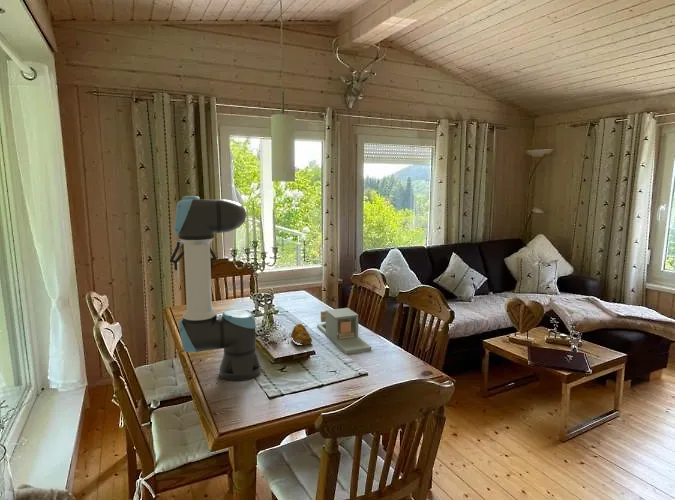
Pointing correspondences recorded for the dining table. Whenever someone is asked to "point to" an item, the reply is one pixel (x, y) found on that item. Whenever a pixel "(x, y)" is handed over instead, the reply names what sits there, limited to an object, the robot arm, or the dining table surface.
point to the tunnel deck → (331, 331)
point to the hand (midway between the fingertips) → (194, 276)
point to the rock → (301, 335)
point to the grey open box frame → (339, 336)
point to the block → (344, 326)
